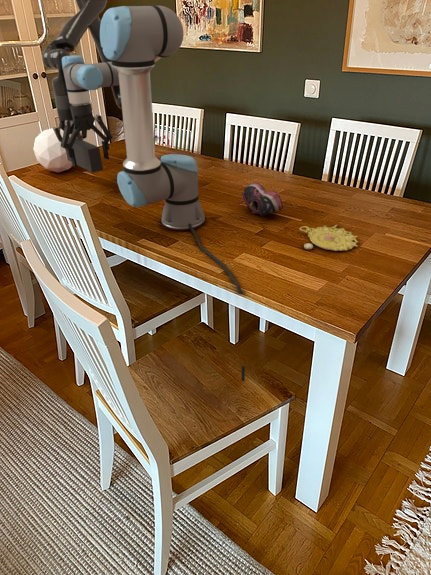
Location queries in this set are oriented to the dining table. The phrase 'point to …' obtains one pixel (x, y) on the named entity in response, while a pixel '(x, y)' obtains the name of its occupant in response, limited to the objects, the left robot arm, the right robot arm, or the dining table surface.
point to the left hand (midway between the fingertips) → (75, 150)
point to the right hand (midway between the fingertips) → (91, 162)
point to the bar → (87, 155)
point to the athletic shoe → (261, 200)
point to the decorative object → (330, 238)
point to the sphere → (51, 151)
